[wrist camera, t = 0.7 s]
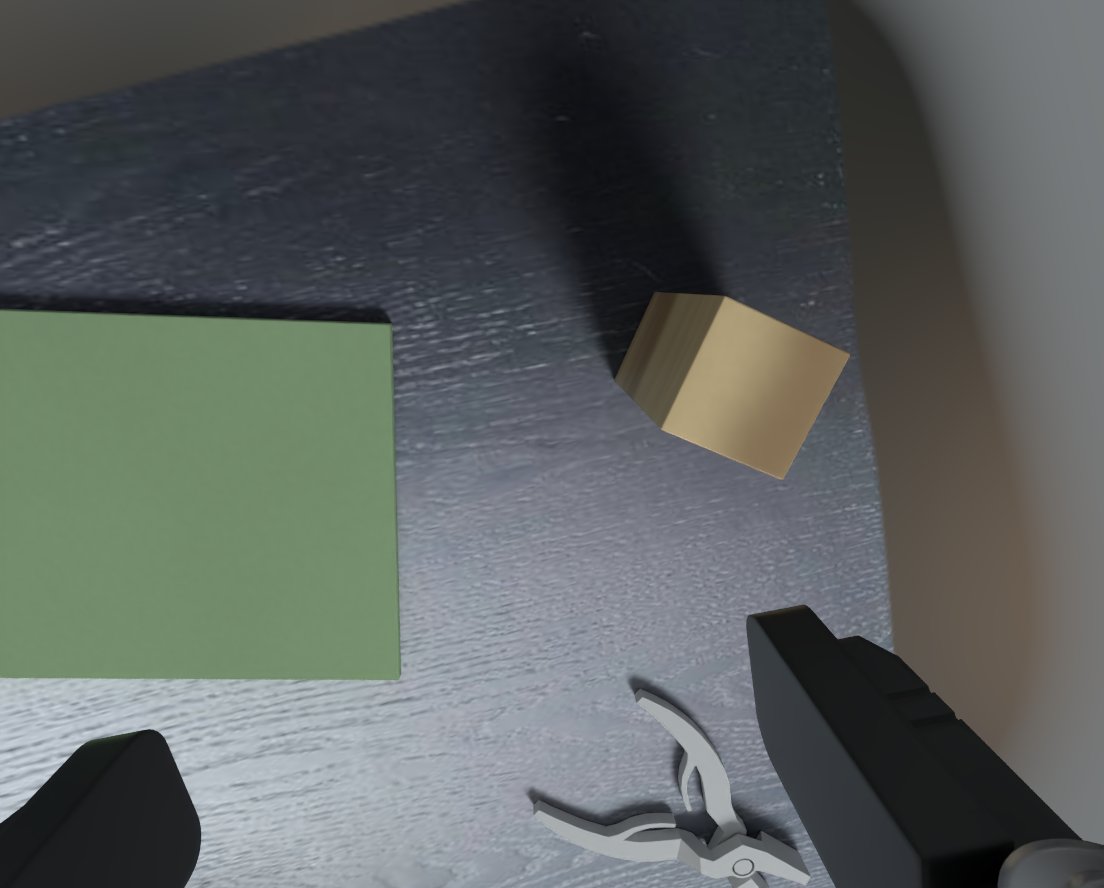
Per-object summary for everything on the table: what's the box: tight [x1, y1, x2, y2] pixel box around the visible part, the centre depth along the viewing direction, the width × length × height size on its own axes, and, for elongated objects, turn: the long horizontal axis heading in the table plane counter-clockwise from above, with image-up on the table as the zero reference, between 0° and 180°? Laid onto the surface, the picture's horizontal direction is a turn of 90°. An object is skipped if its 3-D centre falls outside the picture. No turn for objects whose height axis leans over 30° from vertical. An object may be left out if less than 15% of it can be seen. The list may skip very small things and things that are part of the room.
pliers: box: [533, 689, 811, 888], centre depth 34 cm, size 10×2×15 cm
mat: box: [0, 309, 401, 680], centre depth 29 cm, size 18×20×1 cm
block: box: [615, 292, 850, 480], centre depth 24 cm, size 4×4×10 cm
